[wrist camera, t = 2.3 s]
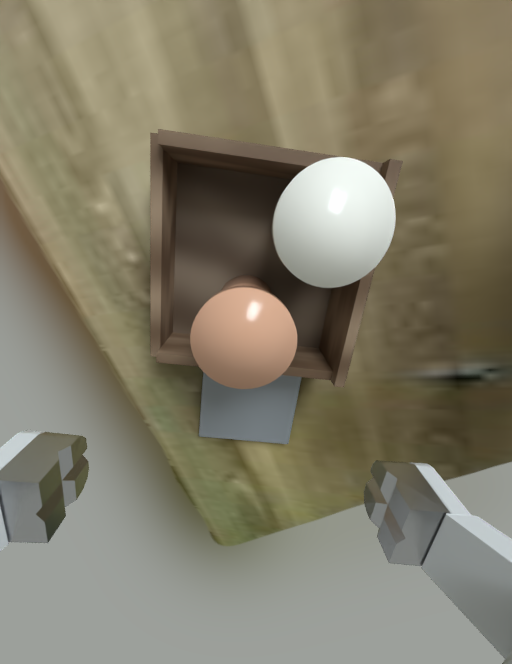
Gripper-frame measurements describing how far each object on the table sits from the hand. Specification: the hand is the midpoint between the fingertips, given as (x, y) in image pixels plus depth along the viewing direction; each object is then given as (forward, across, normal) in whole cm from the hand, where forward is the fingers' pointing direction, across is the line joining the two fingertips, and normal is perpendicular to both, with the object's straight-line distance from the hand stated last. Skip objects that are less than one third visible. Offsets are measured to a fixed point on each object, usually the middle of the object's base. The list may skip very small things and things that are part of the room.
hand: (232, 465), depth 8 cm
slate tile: (+20, -2, +10) cm, 22 cm away
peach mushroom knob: (+19, 0, 0) cm, 19 cm away
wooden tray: (+20, -1, -4) cm, 20 cm away
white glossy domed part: (+19, -4, -7) cm, 21 cm away
